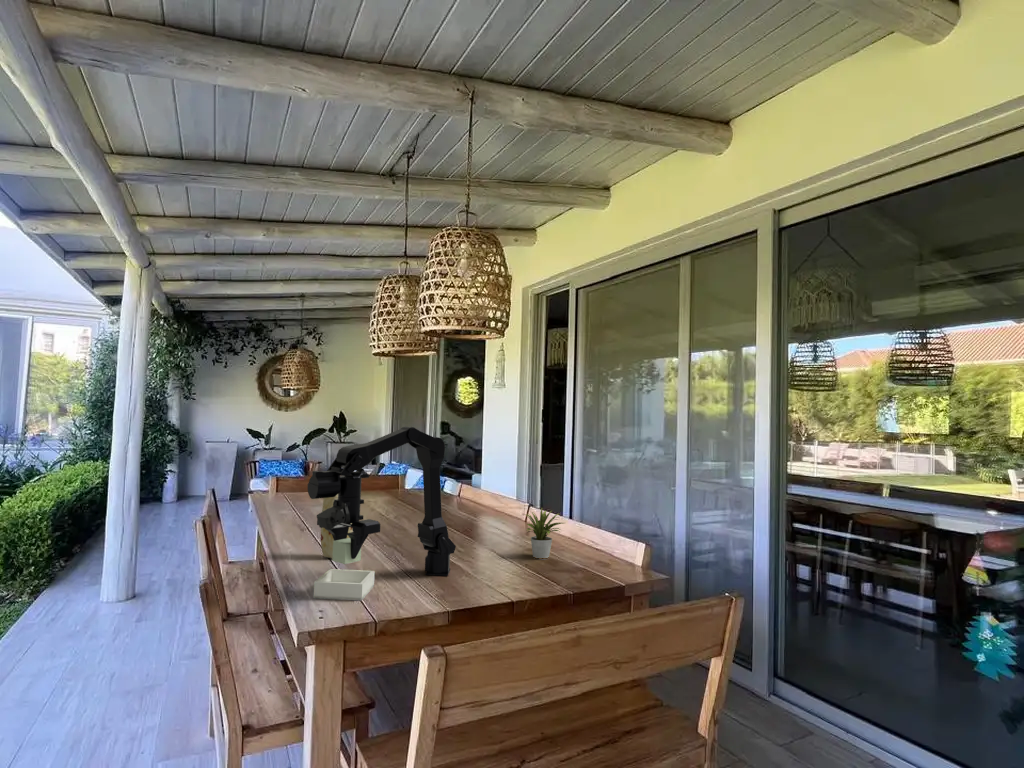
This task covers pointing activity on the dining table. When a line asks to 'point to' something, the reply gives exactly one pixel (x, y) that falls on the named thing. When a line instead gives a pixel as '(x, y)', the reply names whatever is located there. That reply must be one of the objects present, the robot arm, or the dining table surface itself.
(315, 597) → the bin
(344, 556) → the green block
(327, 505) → the food model
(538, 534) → the house plant
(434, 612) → the dining table surface
